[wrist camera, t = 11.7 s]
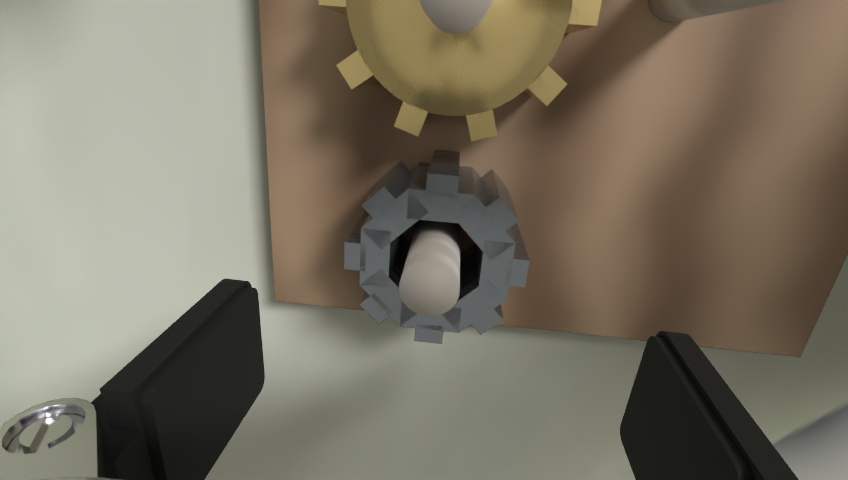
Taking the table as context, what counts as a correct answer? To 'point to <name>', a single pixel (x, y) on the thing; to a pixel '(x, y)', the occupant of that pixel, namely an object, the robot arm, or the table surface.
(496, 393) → the table surface
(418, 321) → the steel gear
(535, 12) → the brass gear
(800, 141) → the board
